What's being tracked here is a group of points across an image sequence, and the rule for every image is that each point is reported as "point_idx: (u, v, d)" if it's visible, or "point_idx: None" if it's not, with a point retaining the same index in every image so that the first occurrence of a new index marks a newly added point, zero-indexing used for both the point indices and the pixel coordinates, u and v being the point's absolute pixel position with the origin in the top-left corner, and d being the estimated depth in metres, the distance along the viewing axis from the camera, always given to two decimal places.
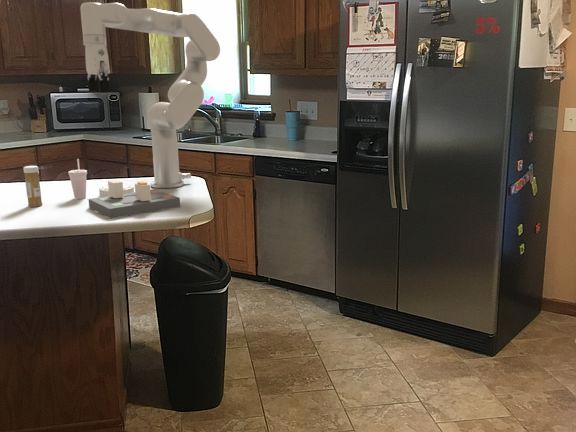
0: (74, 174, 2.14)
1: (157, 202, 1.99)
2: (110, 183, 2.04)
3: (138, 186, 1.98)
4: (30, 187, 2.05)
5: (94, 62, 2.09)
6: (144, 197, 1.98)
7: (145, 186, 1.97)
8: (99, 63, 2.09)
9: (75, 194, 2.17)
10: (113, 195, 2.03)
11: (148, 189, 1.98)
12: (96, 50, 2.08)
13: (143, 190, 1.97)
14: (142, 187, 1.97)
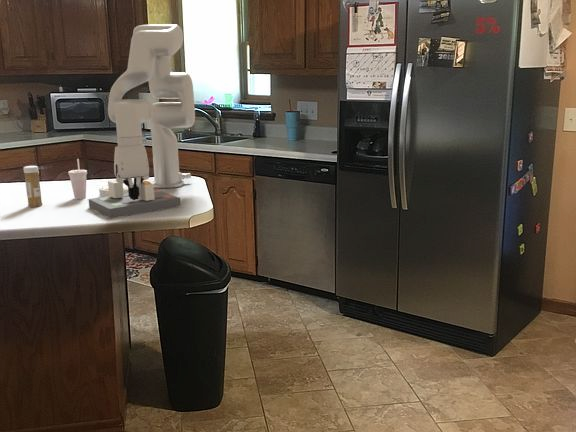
0: (74, 174, 2.14)
1: (157, 202, 1.99)
2: (110, 183, 2.04)
3: (141, 186, 1.99)
4: (30, 187, 2.05)
5: (145, 163, 1.96)
6: (147, 196, 1.99)
7: (148, 186, 1.98)
8: None
9: (75, 194, 2.17)
10: (113, 195, 2.03)
11: (151, 189, 1.99)
12: None
13: (146, 189, 1.98)
14: (145, 187, 1.98)
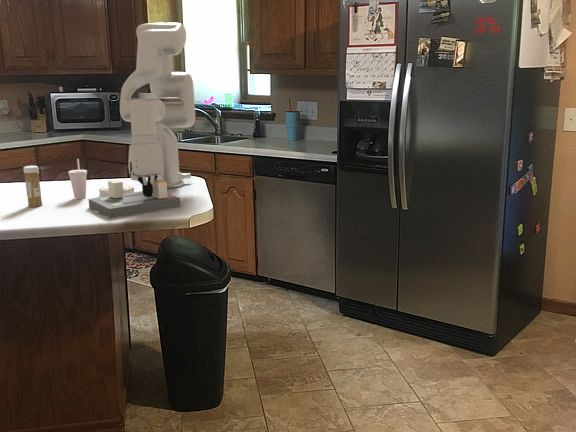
0: (74, 174, 2.14)
1: (157, 202, 1.99)
2: (110, 183, 2.04)
3: (155, 184, 2.02)
4: (30, 187, 2.05)
5: (159, 161, 1.99)
6: (161, 194, 2.01)
7: (162, 184, 2.01)
8: None
9: (75, 194, 2.17)
10: (113, 195, 2.03)
11: (165, 187, 2.02)
12: (159, 149, 1.99)
13: (160, 188, 2.01)
14: (159, 185, 2.00)
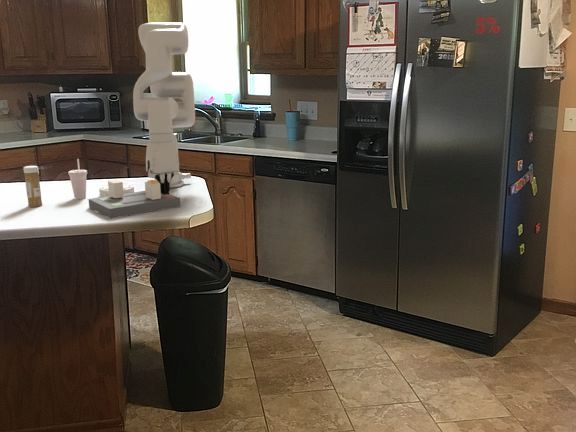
0: (74, 174, 2.14)
1: (157, 202, 1.99)
2: (110, 183, 2.04)
3: (148, 185, 2.00)
4: (30, 187, 2.05)
5: (176, 159, 2.03)
6: (154, 195, 2.00)
7: (155, 185, 2.00)
8: None
9: (75, 194, 2.17)
10: (113, 195, 2.03)
11: (158, 188, 2.00)
12: (176, 147, 2.03)
13: (153, 189, 1.99)
14: (152, 186, 1.99)
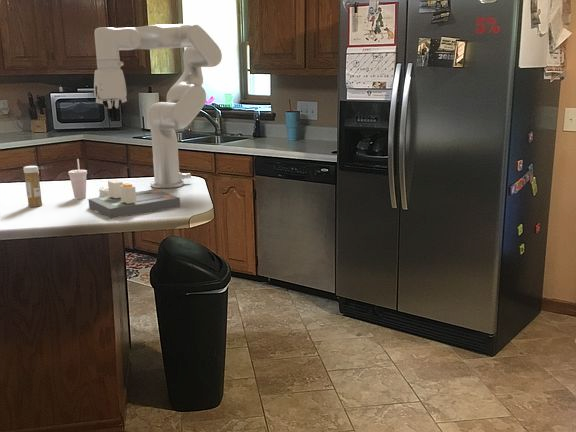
0: (74, 174, 2.14)
1: (157, 202, 1.99)
2: (110, 183, 2.04)
3: (123, 188, 1.95)
4: (30, 187, 2.05)
5: (123, 86, 2.13)
6: (129, 199, 1.95)
7: (130, 188, 1.95)
8: None
9: (75, 194, 2.17)
10: (113, 195, 2.03)
11: (133, 191, 1.95)
12: (123, 74, 2.13)
13: (128, 192, 1.94)
14: (127, 189, 1.94)
